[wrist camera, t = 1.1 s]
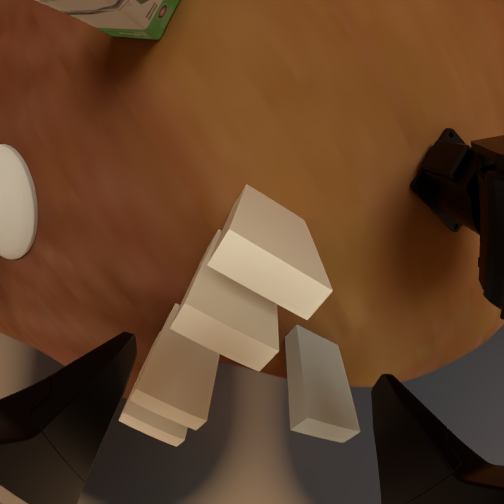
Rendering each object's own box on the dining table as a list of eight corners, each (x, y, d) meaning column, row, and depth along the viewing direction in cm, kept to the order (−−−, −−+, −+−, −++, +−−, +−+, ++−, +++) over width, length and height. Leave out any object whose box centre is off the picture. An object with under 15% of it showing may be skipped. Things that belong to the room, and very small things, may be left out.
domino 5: (338, 345, 25) (360, 431, 16) (325, 356, 26) (343, 442, 17) (296, 324, 25) (307, 417, 15) (284, 337, 25) (290, 429, 16)
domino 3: (304, 220, 21) (332, 290, 12) (290, 239, 22) (307, 320, 12) (246, 183, 20) (229, 229, 11) (233, 204, 21) (206, 264, 11)
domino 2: (205, 354, 27) (184, 440, 17) (198, 364, 27) (176, 446, 18) (160, 331, 26) (122, 412, 17) (154, 341, 26) (118, 420, 17)
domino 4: (274, 261, 22) (279, 350, 13) (262, 279, 23) (258, 371, 14) (218, 228, 21) (184, 302, 12) (207, 247, 22) (169, 328, 13)
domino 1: (224, 329, 25) (206, 420, 16) (215, 341, 26) (196, 430, 17) (175, 302, 24) (135, 388, 15) (168, 316, 25) (129, 400, 16)
